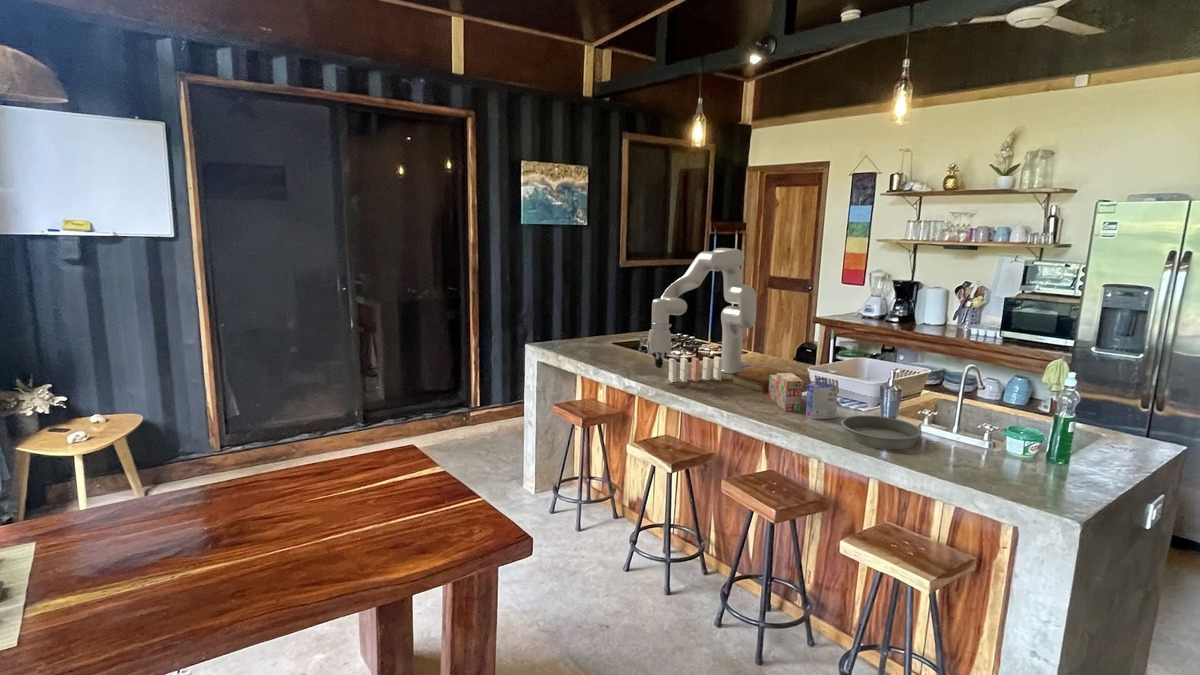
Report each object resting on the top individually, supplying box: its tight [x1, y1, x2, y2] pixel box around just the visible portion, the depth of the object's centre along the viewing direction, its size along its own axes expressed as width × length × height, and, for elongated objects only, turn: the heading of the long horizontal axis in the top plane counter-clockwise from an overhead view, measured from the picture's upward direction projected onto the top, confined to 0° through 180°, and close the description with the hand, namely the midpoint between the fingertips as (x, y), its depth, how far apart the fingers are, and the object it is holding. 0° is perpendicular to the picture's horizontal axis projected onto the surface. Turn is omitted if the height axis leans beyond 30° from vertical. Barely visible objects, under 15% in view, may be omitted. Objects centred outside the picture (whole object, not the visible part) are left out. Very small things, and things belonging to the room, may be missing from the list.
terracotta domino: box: [690, 356, 700, 382], centre depth 285 cm, size 2×5×10 cm, turn 13°
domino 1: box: [679, 357, 689, 383], centre depth 283 cm, size 2×5×10 cm, turn 14°
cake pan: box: [840, 414, 923, 450], centre depth 210 cm, size 25×25×4 cm
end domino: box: [713, 356, 723, 381], centre depth 287 cm, size 2×5×10 cm, turn 14°
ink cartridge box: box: [805, 377, 839, 420], centre depth 231 cm, size 10×6×14 cm, turn 99°
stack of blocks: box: [768, 372, 804, 412], centre depth 248 cm, size 21×6×12 cm, turn 2°
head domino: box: [668, 358, 677, 383], centre depth 282 cm, size 2×5×10 cm, turn 14°
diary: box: [730, 366, 801, 394], centre depth 278 cm, size 23×19×6 cm
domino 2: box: [701, 356, 712, 381], centre depth 286 cm, size 2×5×10 cm, turn 14°
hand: (658, 367), depth 280 cm, fingers closed
